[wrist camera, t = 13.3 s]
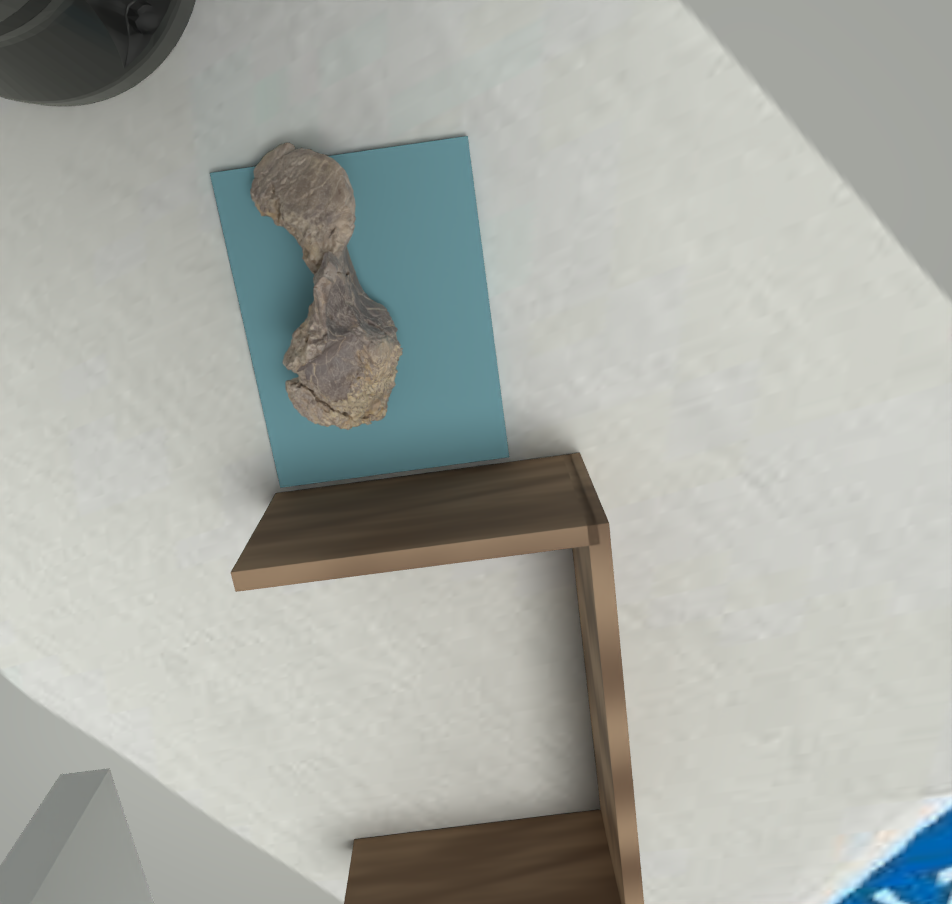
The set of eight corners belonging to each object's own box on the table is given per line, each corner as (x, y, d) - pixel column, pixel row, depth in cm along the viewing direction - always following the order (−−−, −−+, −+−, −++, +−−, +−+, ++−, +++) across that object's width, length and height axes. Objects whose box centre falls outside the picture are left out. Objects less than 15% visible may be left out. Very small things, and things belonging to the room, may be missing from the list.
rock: (367, 131, 42) (349, 126, 35) (415, 409, 46) (407, 451, 40) (250, 149, 42) (210, 147, 35) (310, 424, 47) (284, 468, 40)
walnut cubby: (275, 493, 48) (230, 572, 39) (579, 452, 48) (608, 523, 38) (356, 851, 57) (336, 988, 47) (616, 819, 56) (648, 952, 47)
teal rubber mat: (213, 173, 43) (209, 173, 42) (467, 136, 42) (467, 136, 42) (282, 484, 48) (280, 487, 48) (508, 453, 48) (509, 457, 47)
